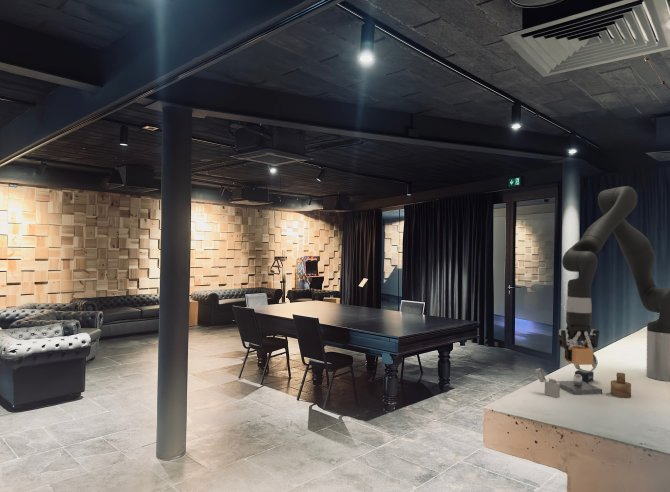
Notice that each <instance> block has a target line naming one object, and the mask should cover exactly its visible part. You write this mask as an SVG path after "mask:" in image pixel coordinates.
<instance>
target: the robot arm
mask: <svg viewBox="0 0 670 492" xmlns="http://www.w3.org/2000/svg"><path fill="white" fill-rule="evenodd" d="M597 203H598V207H599V209H600V211H601V213H602V216H601V217H600V218H598V219H596V221H594V222H593V223H591V225H590V226H588V228H586V230H585V232H584V233H583V234H582V236H581V238H580V239H579V241H577V242H576V243H574V244H573V245H572V246H570V247H569V248H568V249H567V250H566V251H565V253H564V255H563V256H562V259H561V260H562V261H561V264H562V266H563V268H564V270H566V271H567V272H573V273H575V272H576V273H580V274H579V276H578V277H577V278H573V279H569V280H568V282H567V290H566V291H567V294H566V295H567V296H566V302H565V305H566V311H565V314H566V315H565V322H566V327H565V328H564V329H563V328H562V329H561V328H558V329H557V338H558V346H559V347H560V348H563V350H564V349H565V359H566V360H567V361H572V350H571V349H572V347H573V346H575V345H576V343H577V342H581V343H582V345H583V347H587V348H590V349H593V350H594V348H595V349H596V348H598V345H599V337H600V336H599V335H600V330H599V329H594V328H592V329H591V325H592V313H593V312H592V311H593V310H592V309H593V308H592V307H593V306H592V283H593V282H594V277H595V275H596V271H597V270H598V269H597V268H598V264H599V262H598V257H597V255H596V254H598V253H599V252H600V251H601V250H602V248H603V247H604V245H605V243H606V241H607V240H608V239H609V237H610V236H611V235H612V234H613V235H614V236H615V238H616V241H617V243H618V245H619V247H620V250H621V252H622V256H624V259H625V261H626V263H627V266H628V267H629V269H630V272H631V275H632V277H633V280H634V282H635V285H636V289H637V292H638V296H639V298H640V301H641V303H642V305H643V308H645V310H647V311H649V312H653V313H659V316H658V318H657V319H656V320H653V321H649V322H647V324H646V377H647V378H650V379H653V380H658V381H665V382H670V288H663V287H662V288H660V287H657V285H656V283H655V281H654V279H653V275H652V273H653V269H654V266H655V262H656V254H655V251H654V248H653V247H652V245H651V241H650V240H649V239H648V237H646V235H645V234H643V233H642V232H641V231H640V230H638V229H637V228H635V227H634V226H633V225H631V224H630V223H629V222H628V221H627V220H626V218H627V217H628V215H630V214H631V212H632V211H633V210H634V209H635V207H636V206H637V203H638V193H637V192H636V190H635V189H634V188H633V187H632V186H628V185H626V186H619V187H612V188H608V189H604V190H602V191H600V192H599V193H598V196H597ZM567 361H566V362H567Z"/></svg>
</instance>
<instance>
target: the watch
mask: <svg viewBox="0 0 670 492" xmlns="http://www.w3.org/2000/svg"><path fill="white" fill-rule="evenodd" d="M573 365H574V368H575V369H576V371H574V375H576V374H580V375H581V376H582V381H584V382H586V383H588V384H590V383H591V382H593V381H594V370H595V369H596V368H597V366H598V358H597V357H596V355H595V353H593V365H591V366H592V368H591V370H586V369H582V368H581V365H575V364H573Z"/></svg>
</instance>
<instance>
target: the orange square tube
mask: <svg viewBox="0 0 670 492" xmlns="http://www.w3.org/2000/svg"><path fill="white" fill-rule="evenodd" d="M571 350H572V361H567V360H566V359H565V349H564V348H563V361H565V362H567V363H569V364H573V365H574V364H575V365H579V366H581V365H582V366H589V365H590V366H592V365H593V354H594V348H593V349H590V348H587V347H584V345H583V346H582V345H573V347H572V349H571Z"/></svg>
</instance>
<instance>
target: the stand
mask: <svg viewBox="0 0 670 492" xmlns="http://www.w3.org/2000/svg"><path fill="white" fill-rule="evenodd" d="M610 395H611V396H613V397H616V398H622V399H631V398H632V383H630V382H628V381H626V373H625V372H616V380H613V379H612V380H611V381H610Z"/></svg>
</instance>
